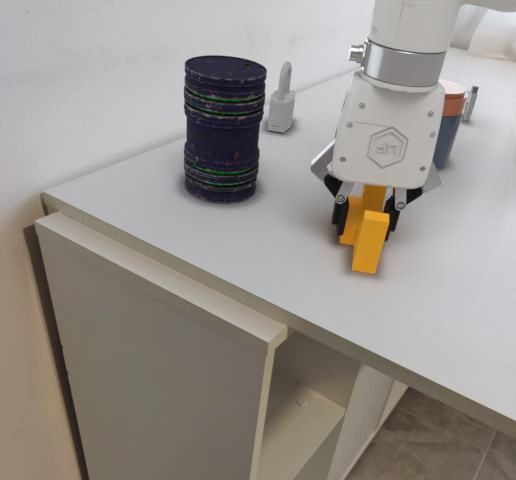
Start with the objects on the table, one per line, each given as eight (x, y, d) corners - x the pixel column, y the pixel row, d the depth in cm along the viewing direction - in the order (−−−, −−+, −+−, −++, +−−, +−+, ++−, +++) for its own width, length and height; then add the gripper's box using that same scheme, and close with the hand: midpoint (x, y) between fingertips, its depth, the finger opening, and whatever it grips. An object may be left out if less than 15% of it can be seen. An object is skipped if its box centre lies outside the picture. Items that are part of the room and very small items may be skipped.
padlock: (273, 117, 95) (279, 55, 88) (295, 121, 94) (303, 58, 88) (263, 130, 90) (269, 65, 83) (286, 134, 89) (295, 69, 83)
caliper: (468, 124, 102) (480, 89, 98) (462, 123, 102) (474, 88, 98) (455, 92, 117) (465, 61, 113) (450, 91, 117) (460, 60, 113)
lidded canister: (441, 150, 90) (463, 80, 83) (451, 172, 84) (477, 98, 76) (387, 143, 90) (404, 73, 83) (393, 165, 83) (413, 91, 76)
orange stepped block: (342, 218, 69) (352, 169, 65) (375, 223, 69) (388, 175, 64) (336, 267, 60) (347, 215, 56) (374, 274, 60) (389, 222, 55)
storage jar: (204, 209, 67) (208, 82, 57) (171, 177, 73) (169, 57, 63) (270, 196, 72) (284, 76, 62) (234, 166, 78) (241, 53, 68)
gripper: (314, 64, 48) (289, 240, 60) (500, 86, 48) (437, 258, 61) (314, 45, 54) (290, 209, 66) (480, 64, 54) (426, 225, 66)
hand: (361, 231), depth 63 cm, fingers closed on orange stepped block, 4 cm apart
